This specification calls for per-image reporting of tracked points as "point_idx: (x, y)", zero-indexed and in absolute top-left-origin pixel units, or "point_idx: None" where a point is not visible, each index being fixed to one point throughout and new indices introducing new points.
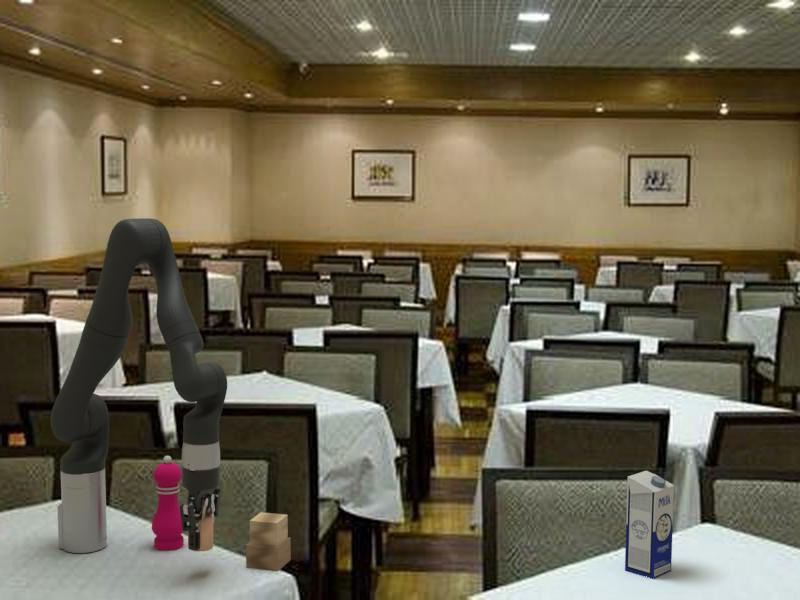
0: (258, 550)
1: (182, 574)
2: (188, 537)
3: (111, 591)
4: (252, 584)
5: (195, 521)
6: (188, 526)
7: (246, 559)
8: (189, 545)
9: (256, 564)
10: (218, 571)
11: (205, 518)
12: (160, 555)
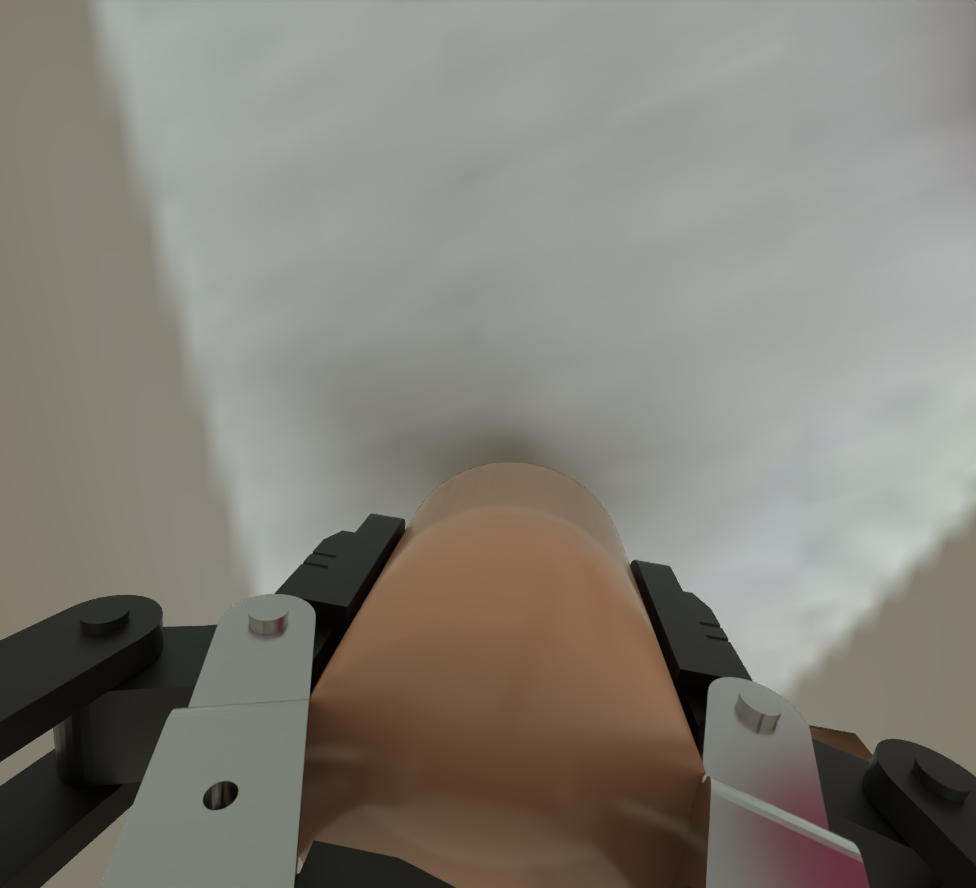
0: None
1: (506, 375)
2: (430, 519)
3: (130, 3)
4: None
5: (304, 777)
6: (53, 728)
7: None
8: (325, 546)
9: None
10: None
11: (494, 882)
12: (887, 69)
